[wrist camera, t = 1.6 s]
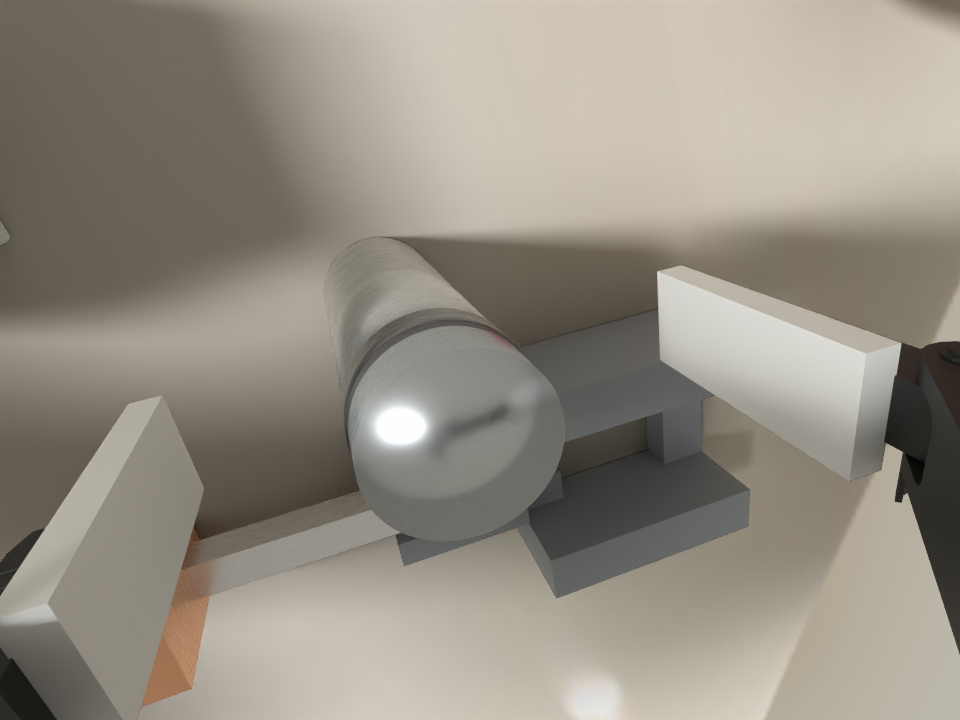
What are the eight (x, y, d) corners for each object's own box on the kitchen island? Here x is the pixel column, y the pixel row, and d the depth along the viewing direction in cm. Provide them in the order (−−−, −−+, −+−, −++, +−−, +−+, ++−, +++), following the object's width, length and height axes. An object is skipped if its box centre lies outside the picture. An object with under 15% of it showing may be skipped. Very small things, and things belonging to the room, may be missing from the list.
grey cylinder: (339, 355, 23) (381, 571, 12) (309, 249, 22) (323, 381, 10) (443, 329, 24) (576, 504, 13) (422, 224, 23) (555, 319, 11)
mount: (405, 566, 28) (426, 647, 24) (356, 391, 24) (369, 449, 20) (684, 471, 32) (748, 526, 27) (682, 302, 27) (756, 334, 23)
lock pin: (142, 593, 24) (98, 721, 19) (112, 540, 23) (57, 661, 18) (431, 501, 27) (464, 590, 22) (418, 448, 26) (450, 530, 21)
